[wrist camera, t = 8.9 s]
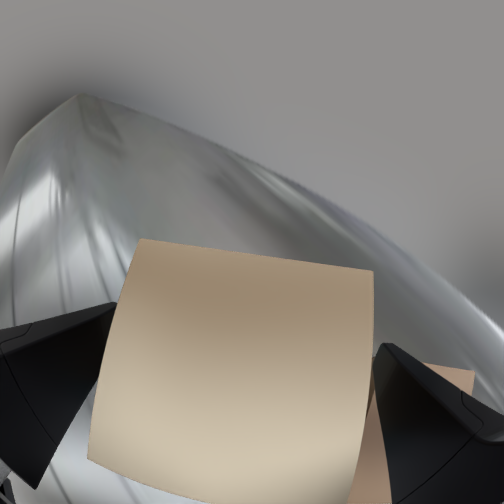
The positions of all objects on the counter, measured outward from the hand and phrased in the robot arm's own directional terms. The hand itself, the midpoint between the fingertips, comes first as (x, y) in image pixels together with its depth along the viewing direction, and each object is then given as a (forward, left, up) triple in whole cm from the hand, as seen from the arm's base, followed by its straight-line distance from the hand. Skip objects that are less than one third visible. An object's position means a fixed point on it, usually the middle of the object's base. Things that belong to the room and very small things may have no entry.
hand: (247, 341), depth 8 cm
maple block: (-1, 0, -6) cm, 6 cm away
